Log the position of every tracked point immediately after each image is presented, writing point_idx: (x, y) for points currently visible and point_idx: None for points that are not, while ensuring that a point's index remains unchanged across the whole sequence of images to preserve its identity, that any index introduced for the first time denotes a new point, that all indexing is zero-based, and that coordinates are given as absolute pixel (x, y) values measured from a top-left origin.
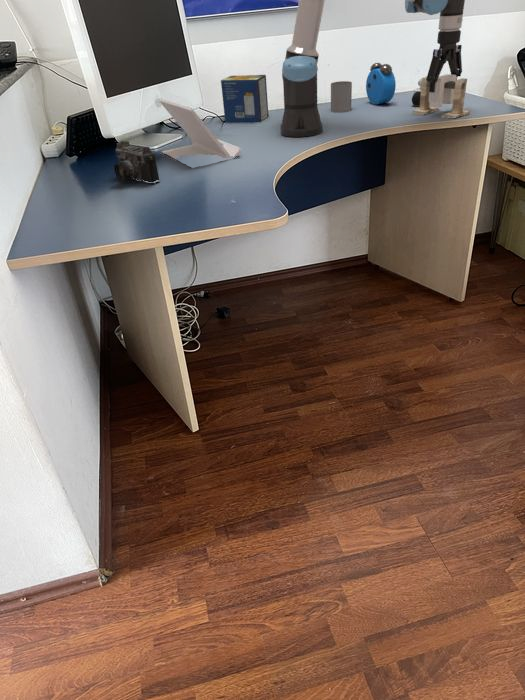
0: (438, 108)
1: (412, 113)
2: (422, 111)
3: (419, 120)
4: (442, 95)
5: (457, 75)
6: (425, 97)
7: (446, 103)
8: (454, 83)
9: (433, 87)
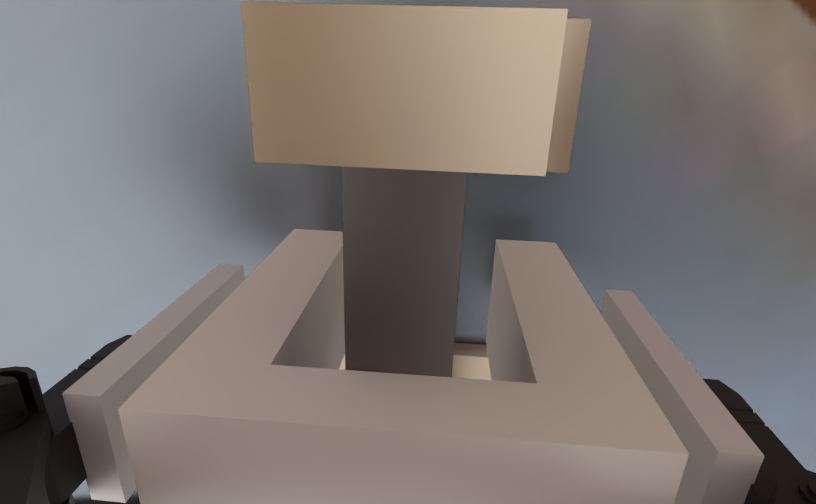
0: None
1: None
2: None
3: (734, 281)
4: (526, 289)
5: (36, 413)
6: None
7: None
8: (463, 215)
9: (758, 427)
